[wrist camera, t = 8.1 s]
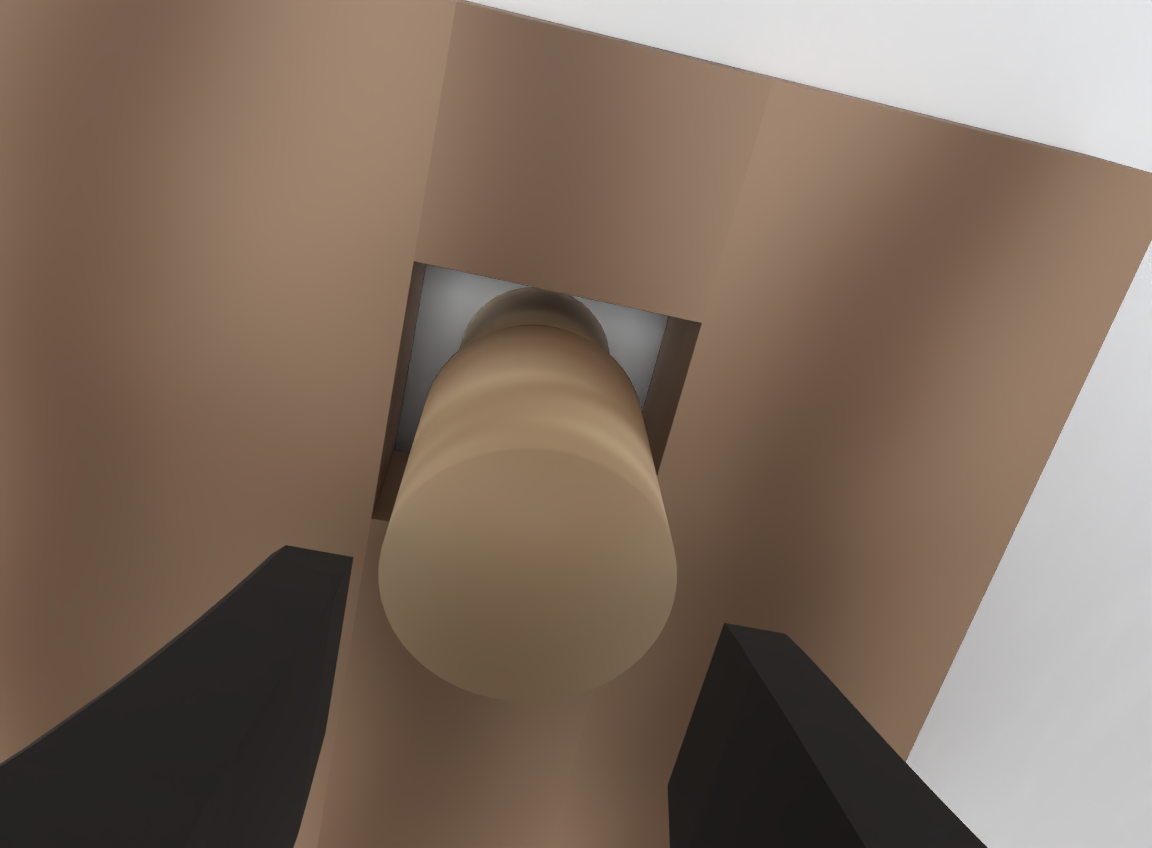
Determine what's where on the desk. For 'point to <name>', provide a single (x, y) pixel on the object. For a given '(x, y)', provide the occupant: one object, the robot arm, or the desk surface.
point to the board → (534, 258)
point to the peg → (529, 511)
